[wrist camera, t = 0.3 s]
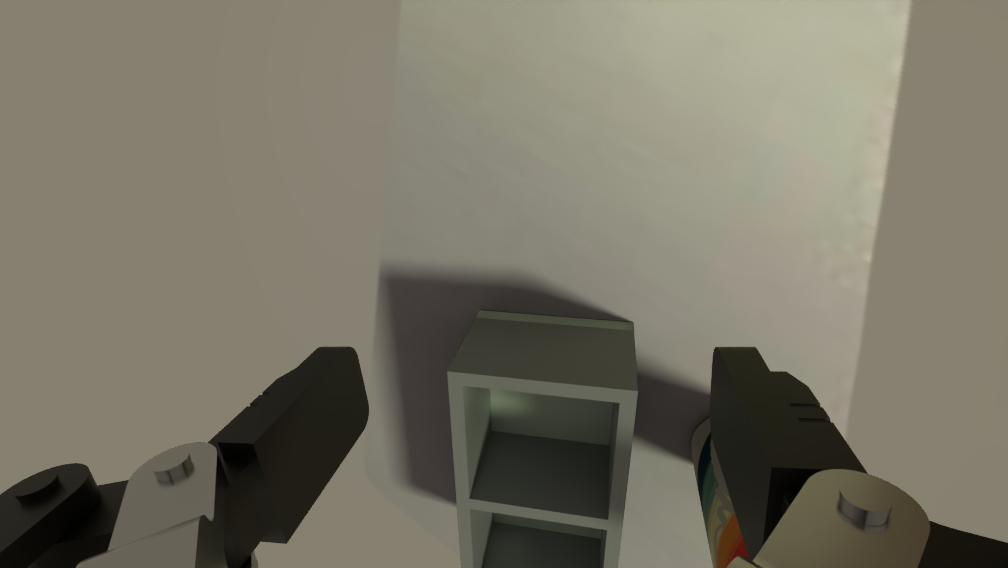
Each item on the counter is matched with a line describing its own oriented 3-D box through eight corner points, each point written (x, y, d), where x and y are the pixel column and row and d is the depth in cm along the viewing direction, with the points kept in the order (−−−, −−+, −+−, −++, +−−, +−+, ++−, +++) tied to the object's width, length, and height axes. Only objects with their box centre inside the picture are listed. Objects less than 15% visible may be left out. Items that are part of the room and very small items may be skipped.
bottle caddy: (479, 310, 32) (446, 371, 26) (633, 322, 30) (638, 391, 24) (487, 517, 40) (463, 602, 34) (611, 536, 38) (610, 631, 32)
